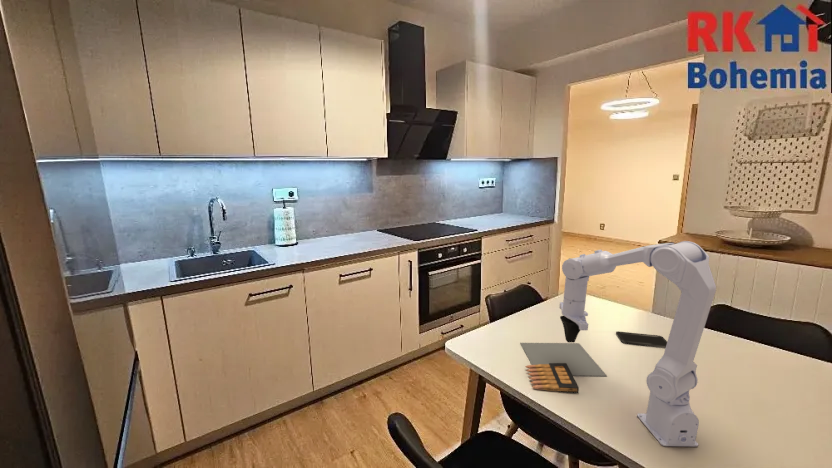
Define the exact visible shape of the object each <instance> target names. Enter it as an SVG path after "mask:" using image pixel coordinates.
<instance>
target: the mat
mask: <svg viewBox="0 0 832 468" xmlns="http://www.w3.org/2000/svg"><path fill="white" fill-rule="evenodd" d="M520 345H521V347H522V349H523V352H524V353H525V355H526V357H527V358H528V360H529V363H530V365H538V364H549V363H567V365H568V367H569V369H570V371H571V373H572V375H573V377H608V375H607V374H606V372H604V371H603V369H602V368H601V366H599V364H597V362H596V361H595V360H594V359H593V357H592V356H591V355H590V354H589V353H588V351H587V350H585V349H584V347H583V346H582V345H581V343H579V342H520Z"/></svg>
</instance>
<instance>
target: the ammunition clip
mask: <svg viewBox="0 0 832 468" xmlns="http://www.w3.org/2000/svg"><path fill="white" fill-rule="evenodd" d="M525 368H527V369H526V372H529V373H527V376H530V377H528V378H529V380H531V382H530V384H532V386H531V388H532V389H535V390H541V391H542V390H543V391H549V392H550V391H551V392H552V391H553V392H558V393H567V394H579V389H580V387H579V385H578V383H577V380H575V376H573V375H572V373H571V371H570V369H569V367H568V365H567V363H549V364H538V365H532V364H527V365H526V366H525Z"/></svg>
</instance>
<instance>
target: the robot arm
mask: <svg viewBox="0 0 832 468" xmlns="http://www.w3.org/2000/svg"><path fill="white" fill-rule="evenodd" d="M593 252H594V253H590V254H585V253H583V254H579V256H576V257H574V258H573V257H572V258H568V259H565V260H564V261H563V262H562V266H561V270H562V271H561V272H562V273H563V276H564V277H565V281H564V289H563V290H564V291H563V293H564V294H563V301H560V302H559V307H558V308H559V309H560V310H561V316H560V315H559V318H560V320H561V323H562V326H563V329H564V330H563V331H564V338H565V341H566V343H576V341H577V337H578V336H579V333H580V331H589V323H588V321H587V318H586V317H588V316H589V313H588V312H587V311H586V310H585V308H586V300H587V299H586V298H587V291H588V290H587V289H588V282H589V280H590V279H589V278H590V277H592V276H598V275H604V274H611V273H612V272H614V271H615V270H616V268H617V267H619V266H620V267H621V266H624V265H632V264H638V263H643V264H645V266H647V267H649V268H651V267H653V269H655V271H656V272H658V274H660V275H662V276H663V277H665V278H666V279H667V280H669V282H671V283H673V284H674V285H675V286H676V287H677V288H678V289H679V290H680V292H681V293H680V296H679V300H678V304H677V307H676V311H675V314H674V318H673V320H672V321H673V322H672V324H671V328H670V331H669V335H668V338H667V340H666V341H667V345H666V348H664V352H663V355H662V356H661V358H660V359H658V361H657V363H655V366H654V369H653V371H652V372H649V374H648V375H647V376H646V380H645V381H646V386H647V389H648V390H649V396H648V401H647V408H646V413H638V412H637V414H636V415H637V418H638V419H639V420H640V421H641V423H643V425H644V426H645V427H646V428H647V429H648V431H649V432H650V433H651V434H652V435H653V436H654V438H655V439H656V440H657V441H658V442H659V444H660V445H661V446H663V447H698V446H699V443H698V442H697V441H696V440H697V435H698V429H699V425H700V421H699V418H698V416H697V415H696V414H695V413H694V411H693V409H692V407H691V404H690V400H691V399H690V390H693V389H695V388H696V387H697V386H698V383H699V381H698V380H699V379H698V376H697V368H698V365H697V363H696V362H695V357H696V355H697V351H698V348H699V344H700V342H701V339H702V335H703V333H704V330H705V327H706V323H707V321H708V317H709V314H710V310H711V307H712V304H713V301H714V298H715V295H716V291H717V285H716V282H715V279H714V276H713V273H712V270H711V267H710V256H709V253H707V252H706V251H705V250H704V248H702V247H701V245H699V244H698V243H695V242H694V241H689V240H683V241H680V242H677V243H675V242H665V243H657V244H649V245H645V246H641V247H637V248H633V249H628V250H625V251H624V250H623V251H621V252H617V253H612V252H610V251H608V250H602V249H597V250H594V251H593Z"/></svg>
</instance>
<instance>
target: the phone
mask: <svg viewBox="0 0 832 468" xmlns="http://www.w3.org/2000/svg"><path fill="white" fill-rule="evenodd" d="M615 336H616V337H617V339H618V340H619V342H620V343H621V344H624V345H630V346H637V347H647V348H657V349H658V348H659V349H665V348H666V345H667V341H668V340H667V339H665V338H664V337H663V336H662V335H656V334H647V333H637V332H636V333H635V332H630V331H629V332H628V331H627V332H626V331H620V330H619V331H615Z"/></svg>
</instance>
